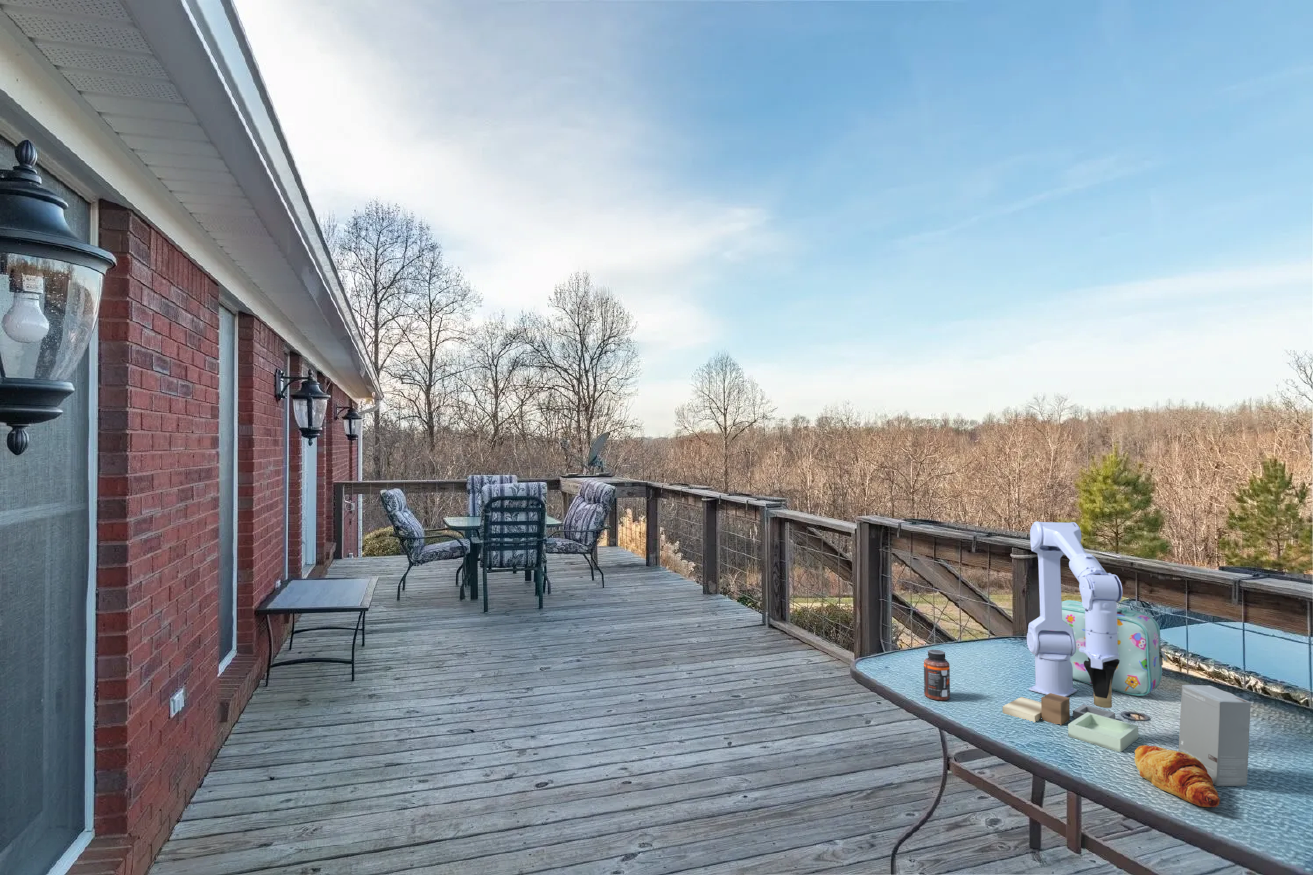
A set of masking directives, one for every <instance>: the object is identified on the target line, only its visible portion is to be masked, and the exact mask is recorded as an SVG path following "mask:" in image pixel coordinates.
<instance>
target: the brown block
mask: <svg viewBox="0 0 1313 875" xmlns="http://www.w3.org/2000/svg"><path fill="white" fill-rule="evenodd" d="M1040 698H1041V700H1040V702H1041V713H1042V719H1041V721H1044V720H1045V722H1048V723H1050V722H1051V723H1050V724H1054V725H1057V724H1060V725H1059V726H1063V725H1065V724H1067V723H1068V722H1069V721H1071V717H1070V716H1071V712H1070V711H1071V710H1070V709H1071V708H1070V705H1071V703H1070V697H1069V696H1067V697H1064V696H1060V695H1056V694H1052V693H1049V694H1047V695H1046V694H1044V695H1043V696H1041V697H1040ZM1062 724H1063V725H1062Z"/></svg>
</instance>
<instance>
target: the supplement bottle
mask: <svg viewBox="0 0 1313 875" xmlns="http://www.w3.org/2000/svg"><path fill="white" fill-rule="evenodd" d="M927 656H928V657H927V658H925V659H923V660H924V661H923V692H924V693H923V694H924V696H925V697H927V698H928V699H931V700H935V701H942V702H943V701H948V700H949V699H950V697H951V680H950V679H951V678H950V674H951V673H950V672H951V670H950V668H951V667H950V662H949V661H948V660H947V659H946V652H945V651H944V650H940V649H929V650H927Z"/></svg>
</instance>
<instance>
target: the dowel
mask: <svg viewBox="0 0 1313 875" xmlns="http://www.w3.org/2000/svg"><path fill="white" fill-rule="evenodd" d="M1112 692H1113V690H1112V686H1111V681H1110V687H1109V693H1108V697H1107V699H1106V698H1101V697H1096V696H1095V694H1094V693H1093V705H1094V706H1097V707H1099V708H1103V709H1111V708H1113V701H1112V700H1113V698H1112V696H1113V693H1112Z"/></svg>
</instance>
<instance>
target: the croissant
mask: <svg viewBox="0 0 1313 875" xmlns="http://www.w3.org/2000/svg"><path fill="white" fill-rule="evenodd" d="M1134 754H1135V755H1134V758H1133V760H1134V763H1135V766H1136V769H1137V770H1138V771H1139V776H1140V778H1143V779H1145V780H1146V781H1148V782H1150V783H1151V784H1152V785H1153V786H1154V787H1156V788H1157V789H1160V790H1161V791H1165V792H1167V793H1168V794H1171V795H1174V796H1176V797H1178V798H1180V799H1181V800H1183V801H1184V802H1185V801H1186V802H1188V803H1191V804H1193V805H1196V806H1199V807H1202V808H1211V807H1212V808H1217V807H1219V805H1220V802H1221V799H1220V797H1219V792H1218V791H1217V789H1216V788H1215V785H1214V784H1213V781H1212V778H1211V777H1210V775H1209V774H1208V772H1207V769H1206V767H1205V766H1204V765H1203V763H1202V762H1200V761H1199V760H1198V759H1197V758H1196V757H1193V756H1191V755H1189V754H1187V753H1184V752H1178V750H1173V749H1168V748H1164V747H1161V746H1157V745H1146V744H1145V745H1139V746H1137V748H1136V749H1135V750H1134Z"/></svg>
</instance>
